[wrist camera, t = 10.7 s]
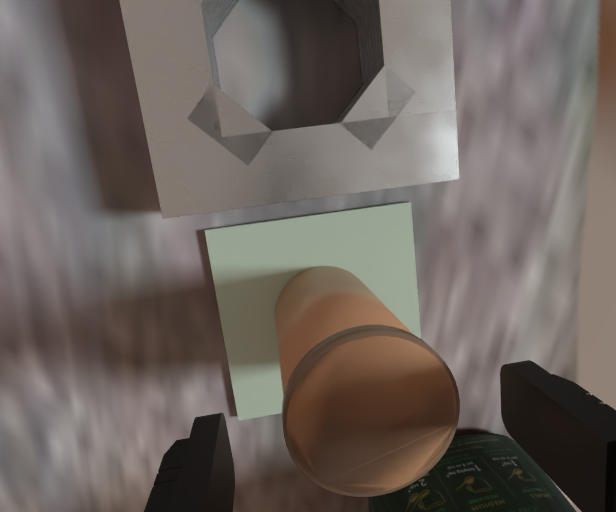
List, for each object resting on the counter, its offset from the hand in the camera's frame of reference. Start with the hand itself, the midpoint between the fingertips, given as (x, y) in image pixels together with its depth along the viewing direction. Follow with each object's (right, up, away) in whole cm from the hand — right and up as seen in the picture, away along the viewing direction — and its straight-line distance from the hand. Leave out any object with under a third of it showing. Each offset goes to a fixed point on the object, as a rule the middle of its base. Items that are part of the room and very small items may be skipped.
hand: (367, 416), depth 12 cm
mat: (-1, +2, +9) cm, 10 cm away
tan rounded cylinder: (-1, +2, +9) cm, 9 cm away
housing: (-2, +13, +7) cm, 15 cm away
